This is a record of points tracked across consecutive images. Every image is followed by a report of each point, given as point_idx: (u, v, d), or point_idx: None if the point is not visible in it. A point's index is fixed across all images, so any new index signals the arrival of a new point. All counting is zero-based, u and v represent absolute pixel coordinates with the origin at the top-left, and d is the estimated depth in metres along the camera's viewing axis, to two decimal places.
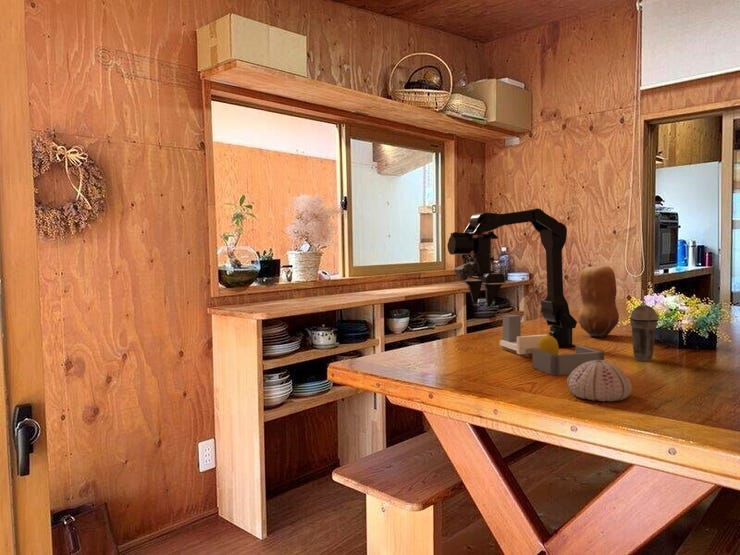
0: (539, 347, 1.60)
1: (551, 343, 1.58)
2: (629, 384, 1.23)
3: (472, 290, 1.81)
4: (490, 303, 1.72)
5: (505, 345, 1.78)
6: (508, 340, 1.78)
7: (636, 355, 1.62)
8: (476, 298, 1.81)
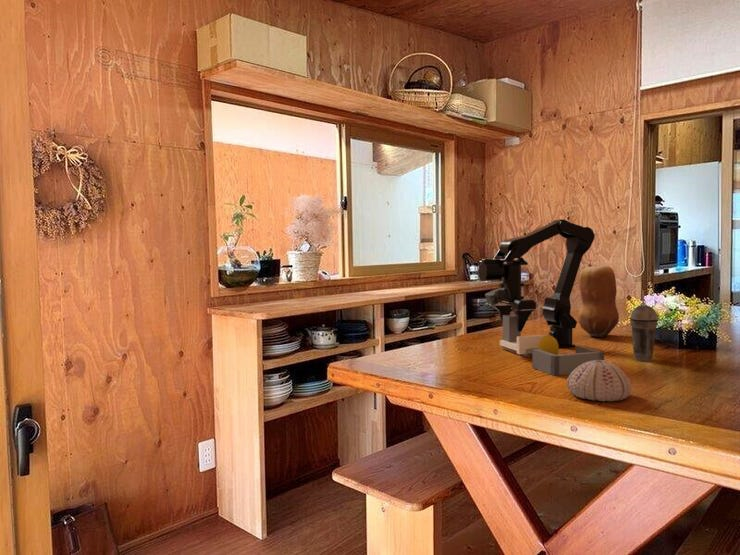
0: (539, 347, 1.60)
1: (551, 343, 1.58)
2: (629, 384, 1.23)
3: (502, 314, 1.84)
4: (521, 328, 1.75)
5: (505, 345, 1.78)
6: (508, 340, 1.78)
7: (636, 355, 1.62)
8: None
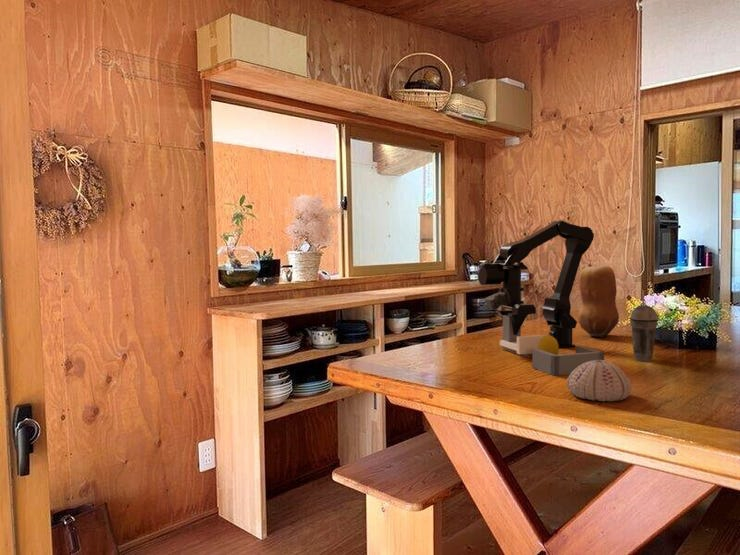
0: (539, 347, 1.60)
1: (551, 343, 1.58)
2: (629, 384, 1.23)
3: None
4: (516, 332, 1.78)
5: (505, 345, 1.78)
6: (508, 340, 1.78)
7: (636, 355, 1.62)
8: None
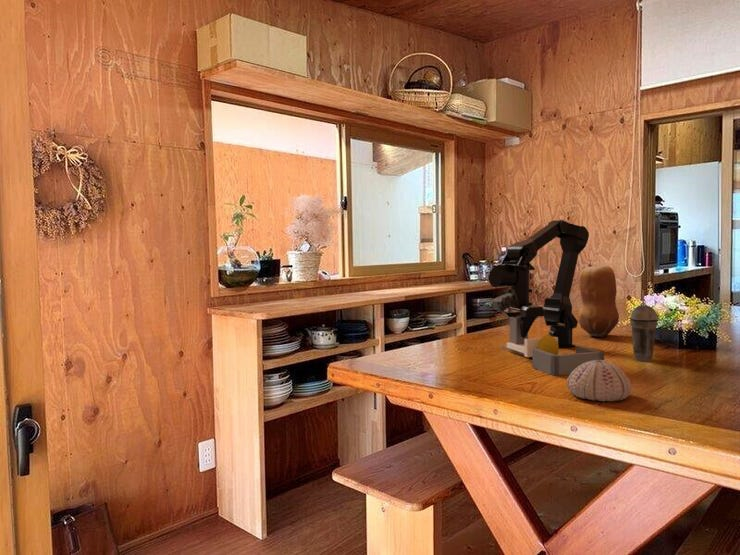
0: (539, 347, 1.60)
1: (551, 343, 1.58)
2: (629, 384, 1.23)
3: None
4: (525, 334, 1.73)
5: (512, 347, 1.74)
6: (515, 342, 1.74)
7: (636, 355, 1.62)
8: None
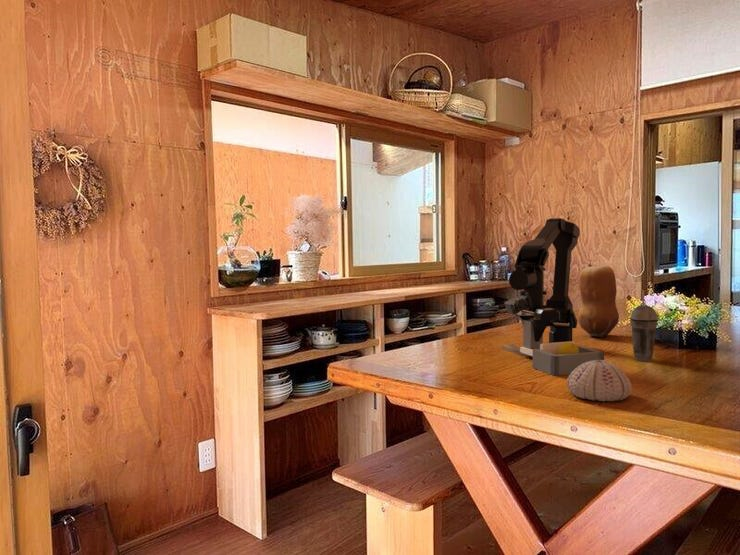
0: (558, 353, 1.52)
1: None
2: (629, 384, 1.23)
3: None
4: (538, 338, 1.66)
5: (526, 352, 1.66)
6: (529, 347, 1.67)
7: (636, 355, 1.62)
8: None
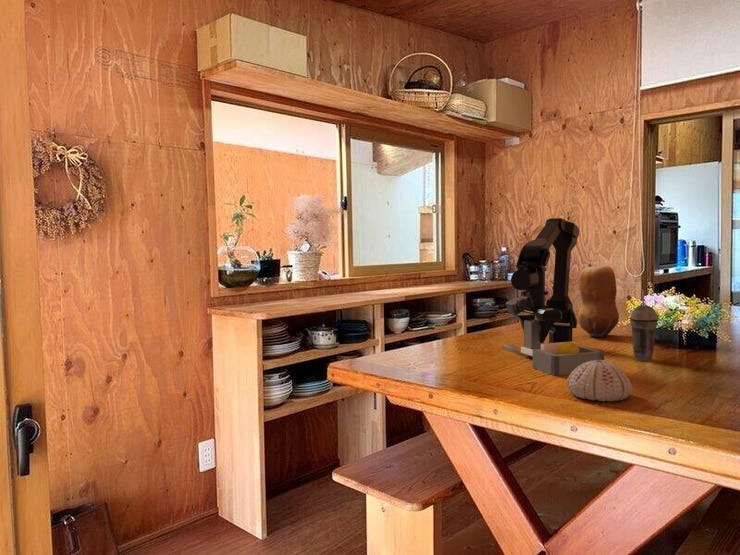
0: (558, 353, 1.51)
1: None
2: (629, 384, 1.23)
3: None
4: (543, 339, 1.64)
5: (527, 352, 1.66)
6: (530, 347, 1.66)
7: (636, 355, 1.62)
8: None
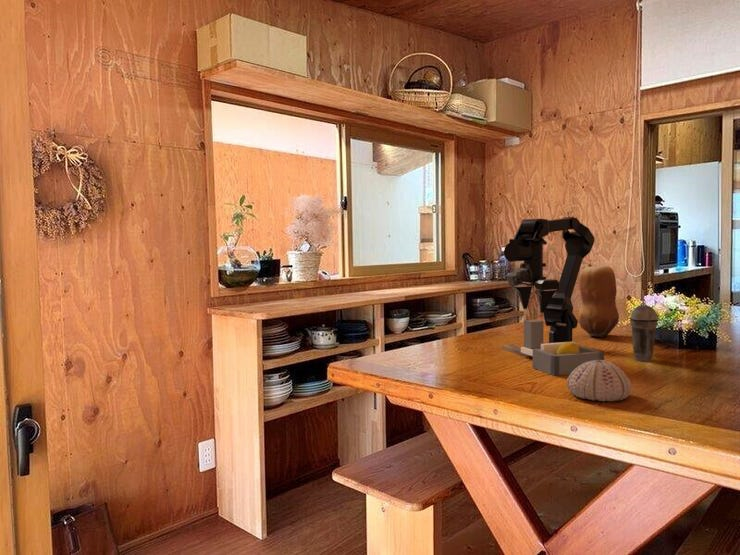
0: (558, 352, 1.51)
1: None
2: (629, 384, 1.23)
3: (522, 296, 1.80)
4: (544, 309, 1.71)
5: (527, 352, 1.66)
6: (530, 347, 1.66)
7: (636, 355, 1.62)
8: (526, 304, 1.80)
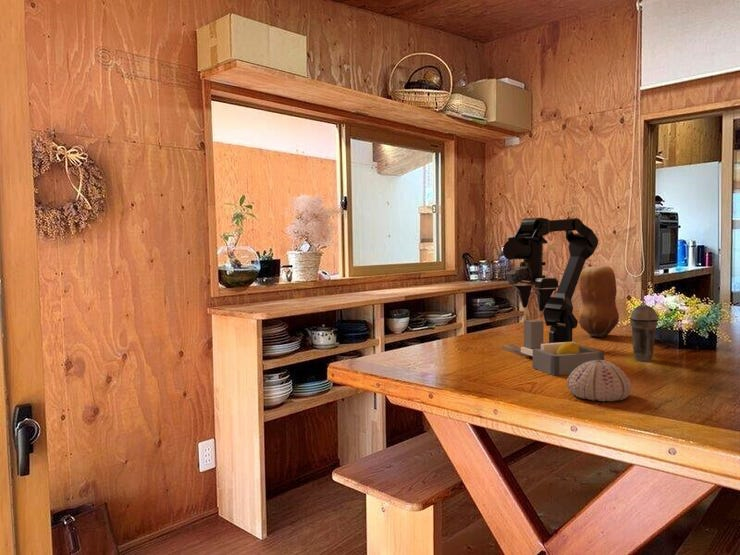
0: (558, 352, 1.51)
1: None
2: (629, 384, 1.23)
3: (522, 294, 1.81)
4: (542, 308, 1.72)
5: (527, 352, 1.66)
6: (530, 347, 1.66)
7: (636, 355, 1.62)
8: (526, 302, 1.81)
